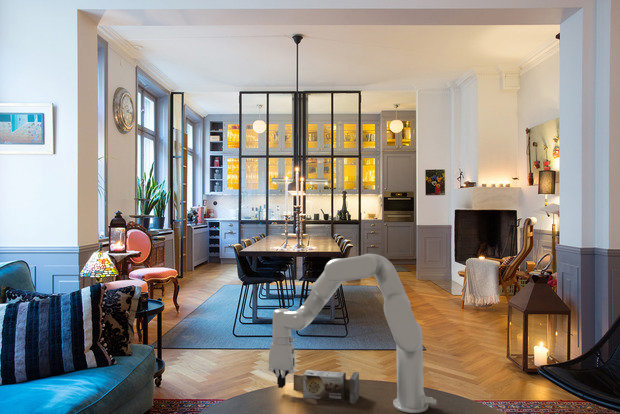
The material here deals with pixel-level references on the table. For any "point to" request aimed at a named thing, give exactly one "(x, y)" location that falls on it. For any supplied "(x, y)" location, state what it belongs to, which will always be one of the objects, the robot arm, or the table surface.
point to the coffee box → (324, 385)
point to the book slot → (351, 390)
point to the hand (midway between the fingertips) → (281, 386)
